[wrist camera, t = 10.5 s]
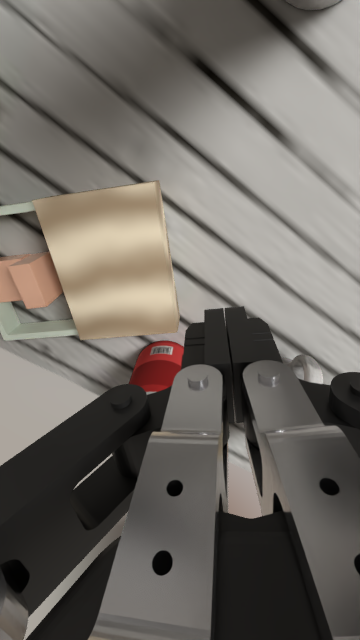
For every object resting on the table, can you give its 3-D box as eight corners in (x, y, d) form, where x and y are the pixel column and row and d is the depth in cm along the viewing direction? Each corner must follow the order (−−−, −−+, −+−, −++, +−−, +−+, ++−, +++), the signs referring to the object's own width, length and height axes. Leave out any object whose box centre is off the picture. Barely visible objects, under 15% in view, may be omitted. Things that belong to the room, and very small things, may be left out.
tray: (-37, 211, 33) (-58, 215, 30) (51, 198, 31) (38, 201, 29) (17, 329, 40) (4, 340, 37) (91, 322, 39) (83, 334, 36)
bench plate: (51, 196, 31) (31, 200, 28) (159, 180, 30) (152, 182, 26) (91, 324, 39) (80, 340, 35) (179, 316, 37) (177, 332, 34)
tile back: (19, 258, 33) (31, 252, 35) (-20, 263, 33) (-6, 257, 36) (35, 298, 35) (45, 290, 37) (-2, 302, 36) (10, 294, 38)
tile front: (51, 251, 34) (32, 253, 35) (29, 263, 30) (7, 266, 30) (65, 289, 37) (47, 292, 37) (47, 306, 32) (26, 309, 33)
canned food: (127, 360, 41) (103, 419, 32) (166, 328, 38) (153, 383, 29) (165, 391, 43) (153, 456, 34) (204, 363, 40) (204, 425, 31)
